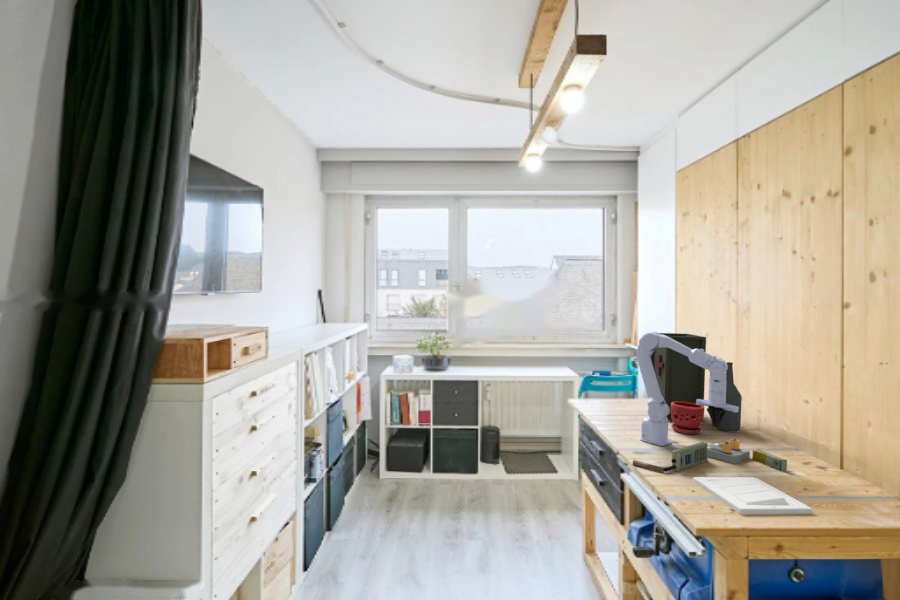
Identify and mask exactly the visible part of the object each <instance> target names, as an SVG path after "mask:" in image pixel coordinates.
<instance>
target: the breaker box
mask: <svg viewBox="0 0 900 600" xmlns="http://www.w3.org/2000/svg"><path fill="white" fill-rule="evenodd" d="M721 447H722V443H719V442H714V443H711V444H708V458H712V459H716V460H719V461H722V462H725V463H729V464H732V465H736V464H738V463H742V462H744V461H746V460H748V459H750V456H751V451H750V450H747V449H742V448H740V449H737V450H736V449H732V450H731V452H730V453H726V452H722V451H721Z"/></svg>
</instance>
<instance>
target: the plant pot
mask: <svg viewBox="0 0 900 600" xmlns="http://www.w3.org/2000/svg"><path fill="white" fill-rule="evenodd" d="M686 413H688V414H689V415H688V416H686ZM692 415H693V416H692ZM704 416H705V406H702V405H697V404H694V403H688V402H672V403H671V418H672V421H671V422H672V424H671V428H672V430H674V431H676V432H678V433H681V434H683V433H684V434H687V435H697V434H700V433H701V431H702V429H701V426H702V424H703V422H704V418H705V417H704Z"/></svg>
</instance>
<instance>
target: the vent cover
mask: <svg viewBox="0 0 900 600" xmlns="http://www.w3.org/2000/svg"><path fill="white" fill-rule="evenodd" d="M692 480H693V481H692V482H693V483H694V484H696V485H697V486H699V487H700V488H702V489H703V490H705V491H706V492H707V493H709V494H710V495H711V496H712V497H715V498H716V499H718V501H720V502H722V503H723V504H725V505H726V506H728V507H729V508H730V509H732V510H733V511H735V513H738V515H807V514H808V515H812V514H813V508H811V507H810V506H808V505H806V504H805V503H803V502H802V501H799V500H797V499H795V498H794V497H792V496H790V495H788V494H786V493H784V492H783V491H781V490H779V489H778V488H775V487H773V486H772V485H770V484H769V483H766V482H764V481H762V480H761V479H760V478H757V477H753V476H752V477H750V476H749V477H748V476H744V477H742V476H739V477H737V476H735V477H734V476H733V477H727V476H725V477H722V476H720V477H719V476H718V477H717V476H714V477H712V476H711V477H710V476H707V477H706V476H702V477H699V476H694V477H693V478H692Z"/></svg>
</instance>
